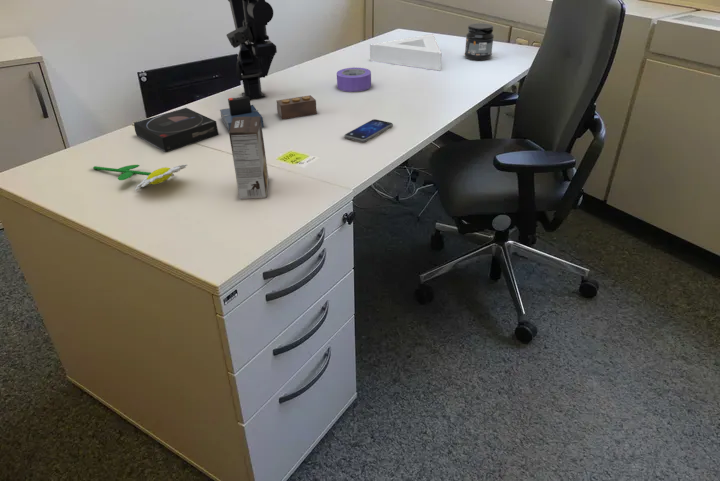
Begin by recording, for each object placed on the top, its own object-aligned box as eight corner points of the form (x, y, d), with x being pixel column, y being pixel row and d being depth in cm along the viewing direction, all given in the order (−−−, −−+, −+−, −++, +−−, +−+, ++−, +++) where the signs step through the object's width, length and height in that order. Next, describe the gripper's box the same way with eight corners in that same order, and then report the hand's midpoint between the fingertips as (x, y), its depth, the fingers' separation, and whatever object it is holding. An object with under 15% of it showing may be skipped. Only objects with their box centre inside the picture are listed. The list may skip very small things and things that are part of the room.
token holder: (311, 108, 173) (310, 93, 170) (316, 113, 169) (315, 98, 166) (277, 114, 169) (276, 99, 166) (282, 119, 165) (280, 104, 163)
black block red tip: (250, 110, 163) (248, 95, 161) (251, 112, 162) (249, 96, 159) (230, 113, 161) (227, 98, 159) (231, 115, 160) (229, 100, 158)
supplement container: (475, 52, 224) (478, 21, 218) (496, 57, 218) (500, 25, 211) (458, 57, 218) (461, 26, 212) (480, 62, 212) (483, 30, 205)
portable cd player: (187, 119, 167) (185, 107, 164) (218, 134, 156) (216, 121, 154) (136, 135, 157) (132, 122, 155) (165, 152, 147) (162, 138, 145)
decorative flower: (76, 187, 135) (160, 199, 121) (69, 169, 133) (154, 179, 118) (119, 170, 145) (201, 179, 130) (113, 152, 143) (196, 159, 128)
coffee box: (242, 181, 132) (232, 116, 123) (269, 179, 132) (261, 115, 123) (238, 199, 124) (227, 132, 115) (267, 198, 124) (258, 130, 115)
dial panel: (221, 119, 166) (219, 109, 165) (254, 114, 170) (253, 104, 168) (229, 133, 157) (227, 122, 155) (264, 127, 160) (263, 116, 159)
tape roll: (331, 90, 188) (330, 75, 185) (345, 80, 197) (344, 66, 194) (363, 93, 184) (363, 78, 181) (376, 83, 193) (376, 68, 190)
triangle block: (440, 70, 204) (441, 53, 201) (370, 71, 205) (370, 54, 201) (432, 49, 229) (433, 34, 226) (370, 51, 230) (369, 35, 226)
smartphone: (342, 134, 152) (373, 118, 162) (342, 138, 152) (373, 121, 162) (364, 140, 148) (394, 123, 158) (364, 143, 148) (394, 126, 159)
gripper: (220, 13, 162) (227, 67, 171) (234, 26, 148) (242, 84, 156) (257, 10, 166) (262, 62, 174) (274, 22, 151) (279, 78, 160)
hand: (261, 71), depth 166 cm, fingers open, 9 cm apart
